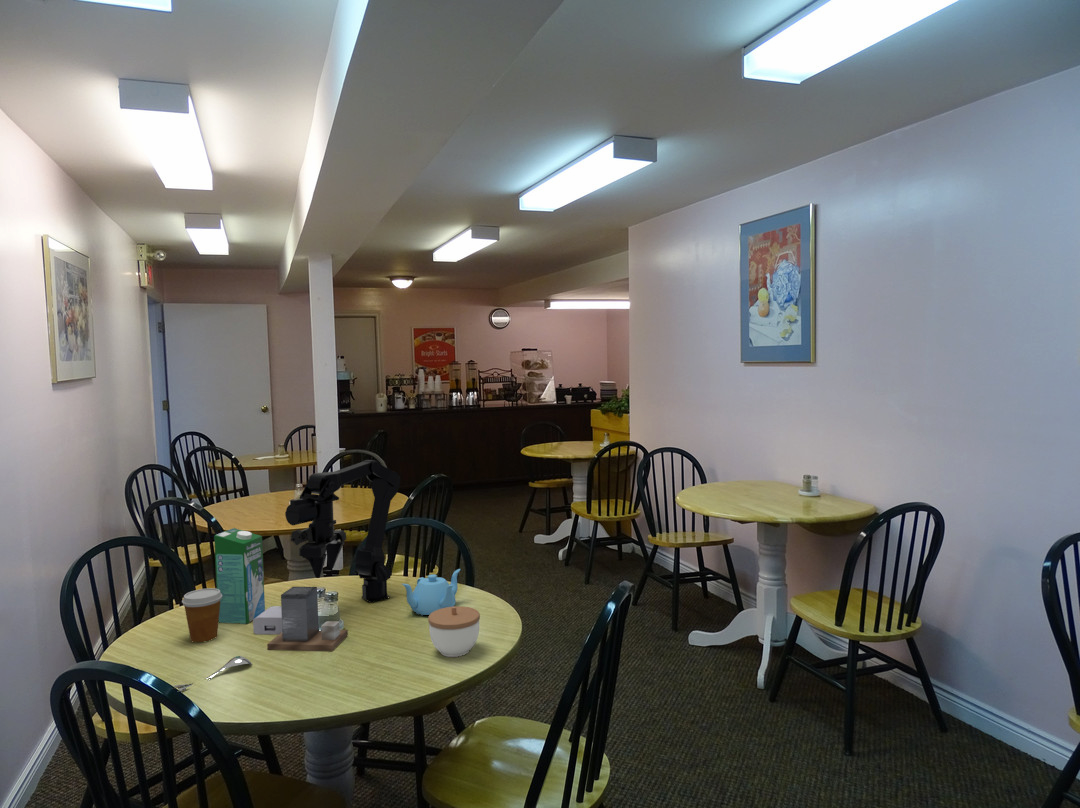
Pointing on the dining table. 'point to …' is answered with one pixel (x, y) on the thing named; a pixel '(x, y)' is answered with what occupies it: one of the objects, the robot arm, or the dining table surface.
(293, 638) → the dark grey tall block
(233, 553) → the milk carton
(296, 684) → the dining table surface
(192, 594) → the disposable coffee cup
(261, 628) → the charger
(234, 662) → the silver metal spoon
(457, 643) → the lidded bowl
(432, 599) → the teapot
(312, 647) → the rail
